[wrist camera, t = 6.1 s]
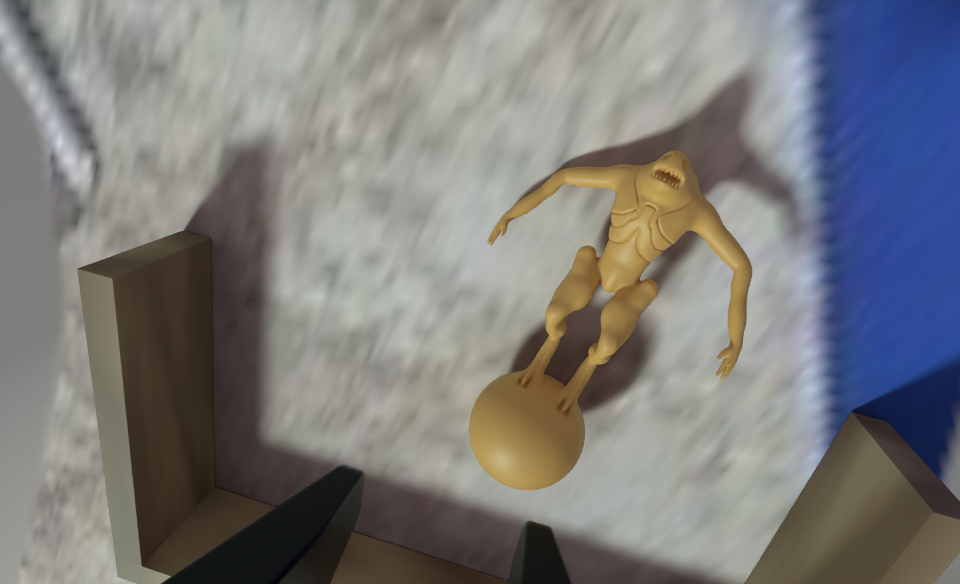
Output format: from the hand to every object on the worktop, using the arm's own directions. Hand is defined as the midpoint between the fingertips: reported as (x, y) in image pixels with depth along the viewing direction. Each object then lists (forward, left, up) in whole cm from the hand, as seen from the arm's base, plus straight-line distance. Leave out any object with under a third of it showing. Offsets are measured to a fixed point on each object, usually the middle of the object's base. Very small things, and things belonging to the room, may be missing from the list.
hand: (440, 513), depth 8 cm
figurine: (-2, +6, -10) cm, 12 cm away
